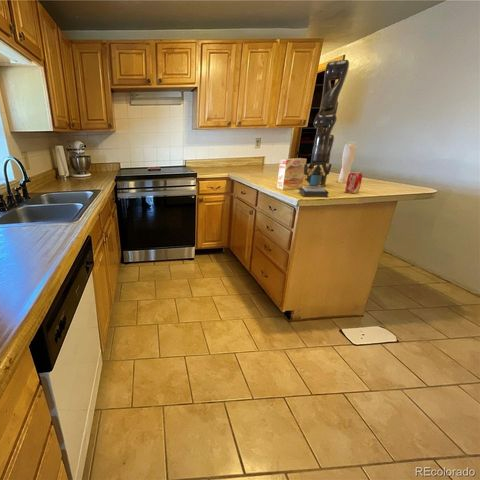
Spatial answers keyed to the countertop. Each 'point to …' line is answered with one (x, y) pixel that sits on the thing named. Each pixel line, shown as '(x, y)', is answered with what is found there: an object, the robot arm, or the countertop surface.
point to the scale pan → (313, 188)
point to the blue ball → (315, 179)
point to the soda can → (353, 182)
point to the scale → (313, 193)
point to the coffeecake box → (291, 173)
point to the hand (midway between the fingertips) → (314, 181)
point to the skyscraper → (347, 161)
